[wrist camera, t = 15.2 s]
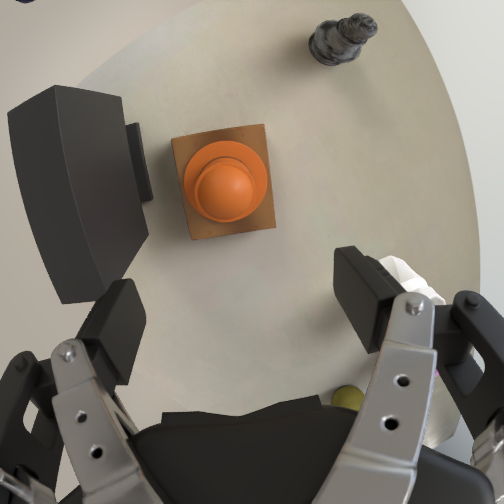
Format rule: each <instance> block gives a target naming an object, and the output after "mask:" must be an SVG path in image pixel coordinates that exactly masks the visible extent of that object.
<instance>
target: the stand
mask: <svg viewBox="0 0 504 504" xmlns="http://www.w3.org/2000/svg"><path fill="white" fill-rule="evenodd" d="M171 140H172V146H173V152H174V158H175V163H176V169H177V174H178V179H179V184H180V189H181V194H182V199H183V204H184V209H185V214H186V219H187V223H188V228H189V232H190V237H191V240H198V239H204V238H210V237H217V236H223V235H229V234H236V233H243V232H249V231H256V230H263V229H270V228H276V222H275V212H274V203H273V193H272V184H271V175H270V166H269V158H268V149H267V141H266V133H265V125H264V124H257V125H249V126H241V127H234V128H227V129H220V130H214V131H208V132H202V133H197V134H191V135H186V136H181V137H176V138H172V139H171ZM218 141H234V142H238V143H241V144H243V145H246V146H247V147H249V148H250V149H252V150H253V151H254V152H255V153H256V154H257V155H258V156H259V157H260V159H261V160H262V162H263V164H264V166H265V169H266V173H267V189H266V193H265V196H264V198H263V200H262V202H261V203H260V205H259V206H258V207H257V208H256V210H254V211H253V212H252V213H251V214H249V215H248V216H246V217H244V218H242V219H239V220H236V221H233V222H217V221H214V220H211V219H208V218H206V217H204V216H202V215H201V214H200V213H198V212H197V211H196V210H195V209H194V208H193V207H192V205H191V204H190V202H189V201H188V199H187V196H186V193H185V190H184V174H185V170H186V168H187V165H188V163H189V161H190V160H191V158H192V157H193V156H194V155H195V154H196V153H197V152H198V151H199V150H200V149H202V148H203V147H205V146H207V145H209V144H211V143H214V142H218Z"/></svg>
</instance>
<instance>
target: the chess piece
mask: <svg viewBox="0 0 504 504" xmlns="http://www.w3.org/2000/svg"><path fill="white" fill-rule="evenodd" d="M377 29H378V28H377V24H376V22H375V21H374V19H373V18H372V17H370V16H369V15H367V14H364V13H356V14H354V15H352V16H351V17H350V18H344V19H341V20H340V21H338V20H327V21H325V22H322V23H321V24H320V25H319V26H318V27H317V29H316V30H315V33H314V34H313V35H312V36H311V37H310V40H309V49H310V51H311V53H312V55H313V56H314V57H315V58H316V59H317V60H318V61H320V62H321V63H323V64H326V65H338V64H340V63H342V62H343V63H345V62H351V61H353V60H355V59H356V58H357V57H358V56H359V54H360V52H361V47H362V45H364V44H365V43H366V42H367V39H368V38H370V37H373V36H374V35H375V34H376V33H377Z"/></svg>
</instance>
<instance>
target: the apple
mask: <svg viewBox="0 0 504 504" xmlns="http://www.w3.org/2000/svg"><path fill="white" fill-rule="evenodd" d="M363 399H364V394H363V393H362V391H361V390H360V389H359V388H357V387H355V386H344V387H342V388H340V389H338V390H337V391H336V392H335V393H334V395H333V397H332V401H331V405H335V406H341V407H346V408H350V409H353V410H356V411H358V412H359V409H360V407H361V404H362V402H363Z"/></svg>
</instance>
